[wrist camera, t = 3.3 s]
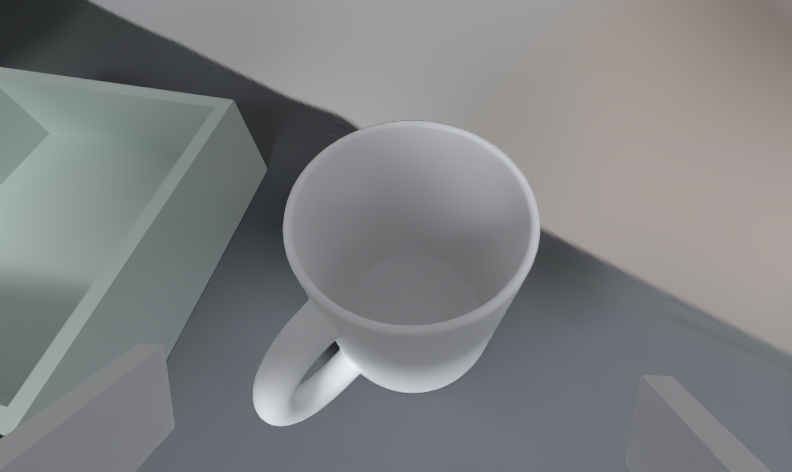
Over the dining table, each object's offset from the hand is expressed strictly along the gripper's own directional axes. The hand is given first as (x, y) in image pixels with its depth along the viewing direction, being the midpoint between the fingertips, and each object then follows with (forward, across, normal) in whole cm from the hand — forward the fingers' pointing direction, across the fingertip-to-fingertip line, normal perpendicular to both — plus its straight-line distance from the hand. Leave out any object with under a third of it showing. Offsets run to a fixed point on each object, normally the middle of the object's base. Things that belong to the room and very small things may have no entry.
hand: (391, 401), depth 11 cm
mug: (+10, -1, -4) cm, 10 cm away
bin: (+12, -21, 0) cm, 24 cm away
